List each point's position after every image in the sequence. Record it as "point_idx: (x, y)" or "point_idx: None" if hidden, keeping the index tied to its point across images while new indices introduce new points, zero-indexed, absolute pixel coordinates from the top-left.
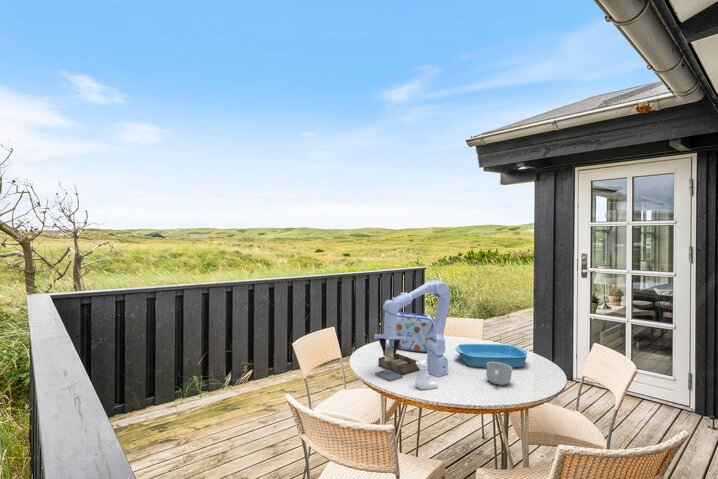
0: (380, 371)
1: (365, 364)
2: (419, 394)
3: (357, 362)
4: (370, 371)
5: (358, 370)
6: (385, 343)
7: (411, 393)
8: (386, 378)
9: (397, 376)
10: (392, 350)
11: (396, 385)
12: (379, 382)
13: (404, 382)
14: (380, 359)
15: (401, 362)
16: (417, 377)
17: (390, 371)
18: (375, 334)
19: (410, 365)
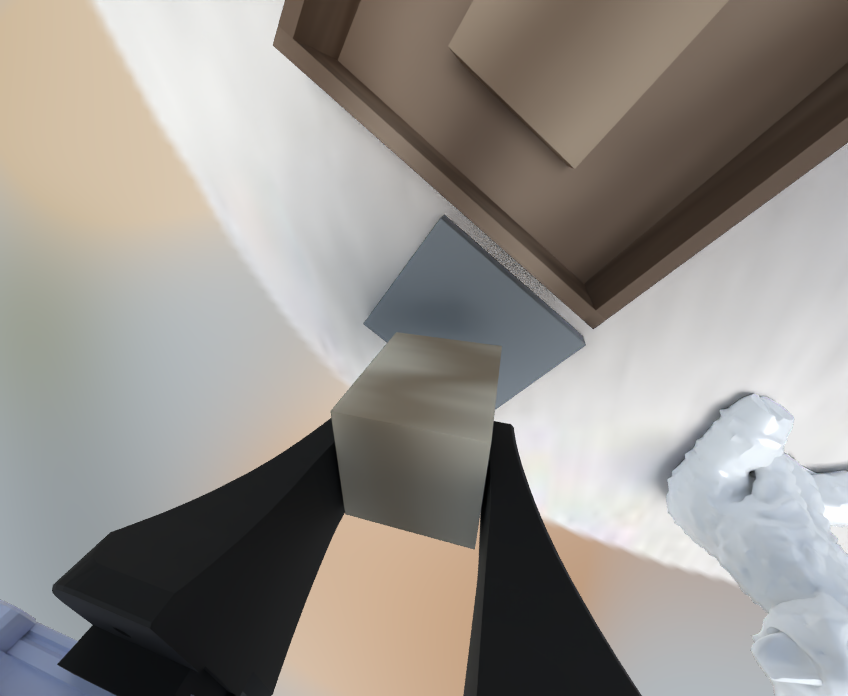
0: (393, 289)
1: (209, 73)
2: (659, 536)
3: (125, 37)
4: (319, 255)
5: (243, 256)
6: (275, 557)
7: (611, 525)
8: None
9: (539, 367)
10: (456, 540)
11: (529, 449)
12: None
13: (589, 410)
14: (310, 74)
15: (625, 26)
16: (704, 533)
17: (475, 271)
18: None
19: (750, 207)
